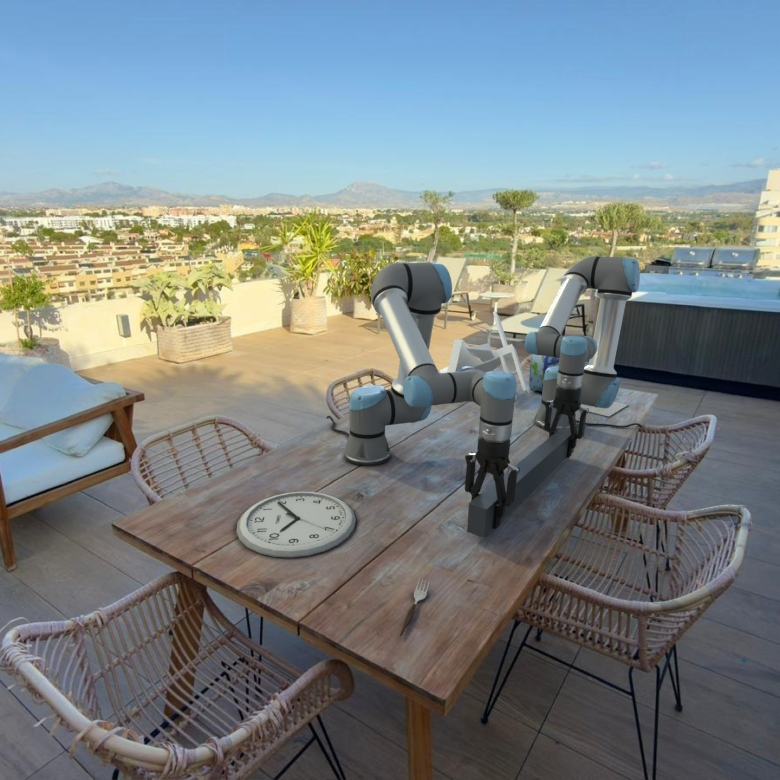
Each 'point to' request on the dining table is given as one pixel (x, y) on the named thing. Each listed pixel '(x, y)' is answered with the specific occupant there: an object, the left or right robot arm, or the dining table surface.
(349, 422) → the left robot arm
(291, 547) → the wall clock
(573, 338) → the right robot arm
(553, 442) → the post
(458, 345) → the white plastic object
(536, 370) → the lunch box
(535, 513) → the dining table surface
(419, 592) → the fork
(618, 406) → the invitation card
